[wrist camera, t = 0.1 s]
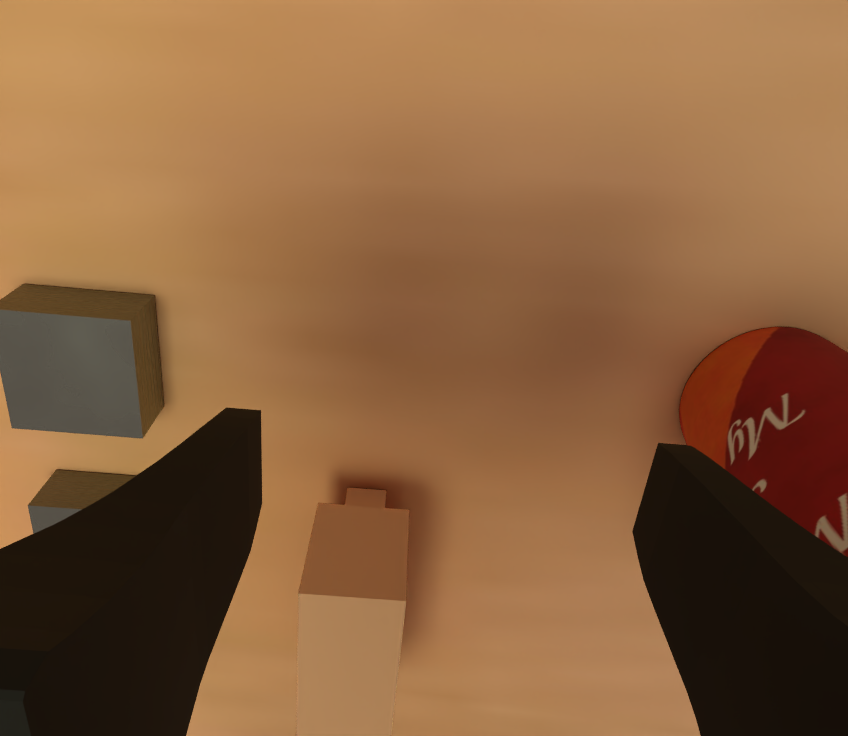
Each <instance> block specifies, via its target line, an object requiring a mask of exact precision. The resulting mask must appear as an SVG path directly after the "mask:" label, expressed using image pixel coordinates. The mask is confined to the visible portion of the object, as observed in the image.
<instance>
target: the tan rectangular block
mask: <svg viewBox="0 0 848 736" xmlns="http://www.w3.org/2000/svg"><path fill="white" fill-rule="evenodd" d="M386 491H387V490H374V489H361V488H347V494H346V500H345V505H339V504H326V503H318V506H317V510H316V515H315V520H314V524H313V529H312V533H311V538H310V543H309V547H308V552H307V556H306V561H305V565H304V570H303V575H302V579H301V584H300V588H299V593H298V649H297V712H296V736H391V734H392V725H393V716H394V707H395V698H396V689H397V680H398V671H399V662H400V653H401V644H402V635H403V626H404V617H405V608H406V595H407V565H408V535H409V510H404V509H391V508H385V503H386Z"/></svg>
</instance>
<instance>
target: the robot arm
mask: <svg viewBox="0 0 848 736" xmlns="http://www.w3.org/2000/svg"><path fill="white" fill-rule="evenodd" d="M261 505H262V460H261V410H249V409H236V408H226V409H224V410H223V411H222V412H220V413H219V414H218V415H216V416H215V417H214V418H213V419H211V420H210V421H209V422H207V423H206V424H205V425H204V426H202V427H201V428H200V429H199V430H197V431H196V432H195V433H194V434H192V435H191V436H190V437H189V438H187V439H186V440H185V441H184V442H182V443H181V444H180V445H178V446H177V447H176V448H174V449H173V450H172V451H170V452H169V453H168V454H166V455H165V456H164V457H163V458H161V459H160V460H159V461H157V462H156V463H154V464H153V465H151V466H150V467H149V468H147V469H146V470H144V471H143V472H141V473H140V474H138V475H137V476H135V477H134V478H132V479H131V480H129V481H128V482H126V483H125V484H123V485H122V486H120V487H119V488H118V489H116V490H114V491H113V492H111V493H110V494H108V495H106V496H105V497H103V498H101V499H100V500H98V501H96V502H94V503H93V504H91V505H89V506H87V507H86V508H84V509H82V510H80V511H78V512H76V513H75V514H73V515H71V516H69V517H67V518H65V519H64V520H62V521H60V522H58V523H56V524H54V525H52V526H49V527H47V528H45V529H43V530H41V531H39V532H36V533H34V534H32V535H30V536H28V537H25V538H23V539H21V540H19V541H17V542H15V543H12V544H10V545H8V546H6V547H4V548H1V549H0V736H186V733H187V730H188V726H189V723H190V719H191V715H192V712H193V708H194V704H195V701H196V697H197V693H198V690H199V686H200V683H201V680H202V677H203V674H204V671H205V668H206V665H207V662H208V659H209V657H210V654H211V652H212V649H213V646H214V644H215V641H216V639H217V636H218V634H219V631H220V629H221V626H222V623H223V621H224V618H225V616H226V613H227V611H228V608H229V606H230V603H231V600H232V598H233V595H234V593H235V590H236V588H237V585H238V582H239V580H240V577H241V575H242V572H243V569H244V567H245V564H246V562H247V559H248V556H249V553H250V551H251V547H252V543H253V539H254V535H255V531H256V527H257V522H258V518H259V514H260V510H261ZM633 536H634V541H635V545H636V550H637V555H638V559H639V563H640V567H641V571H642V575H643V579H644V582H645V585H646V588H647V591H648V593H649V596H650V598H651V601H652V604H653V606H654V609H655V612H656V614H657V617H658V619H659V622H660V624H661V627H662V629H663V632H664V635H665V637H666V640H667V642H668V645H669V647H670V650H671V652H672V655H673V657H674V660H675V662H676V665H677V668H678V670H679V673H680V675H681V678H682V680H683V683H684V685H685V688H686V690H687V693H688V696H689V699H690V702H691V705H692V708H693V711H694V714H695V717H696V720H697V724H698V727H699V731H700V735H701V736H848V557H847V556H845V555H843V554H842V553H840V552H839V551H837V550H836V549H834V548H833V547H831V546H830V545H828V544H827V543H825V542H824V541H822V540H821V539H819V538H818V537H816V536H815V535H813V534H812V533H810V532H809V531H807V530H806V529H805V528H803V527H802V526H800V525H799V524H797V523H796V522H795V521H793V520H792V519H791V518H789V517H788V516H786V515H785V514H784V513H782V512H781V511H780V510H778V509H777V508H775V507H774V506H773V505H771V504H770V503H769V502H767V501H766V500H765V499H763V498H762V497H761V496H759V495H758V494H757V493H755V492H754V491H753V490H752V489H750V488H749V487H748V486H746V485H745V484H744V483H742V482H741V481H740V480H738V479H737V478H736V477H735V476H733V475H732V474H731V473H729V472H728V471H727V470H725V469H724V468H723V467H721V466H720V465H719V464H717V463H716V462H715V461H713V460H712V459H711V458H709V457H708V456H706V455H705V454H703V453H702V452H700V451H699V450H697V449H696V448H694V447H693V446H689V445H676V444H664V443H658V446H657V449H656V453H655V456H654V459H653V463H652V466H651V470H650V473H649V477H648V480H647V483H646V487H645V490H644V494H643V497H642V501H641V504H640V507H639V511H638V514H637V518H636V521H635V524H634V528H633Z"/></svg>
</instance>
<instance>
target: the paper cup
mask: <svg viewBox="0 0 848 736" xmlns="http://www.w3.org/2000/svg"><path fill="white" fill-rule="evenodd" d="M679 418H680V425H681V429H682V433H683V436H684V438H685V441H686V444H687V445H689V446H693V447H694V448H696V449H697V450H699V451H700V452H702V453H703V454H705V455H706V456H708V457H709V458H711V459H712V460H713V461H715V462H716V463H717V464H719V465H720V466H721V467H723V468H724V469H725V470H727V471H728V472H729V473H731V474H732V475H733V476H735V477H736V478H737V479H738V480H740V481H741V482H742V483H744V484H745V485H746V486H748V487H749V488H750V489H752V490H753V491H754V492H755V493H757V494H758V495H759V496H761V497H762V498H763V499H765V500H766V501H767V502H769V503H770V504H771V505H773V506H774V507H775V508H777V509H778V510H780V511H781V512H782V513H784V514H785V515H786V516H788V517H789V518H791V519H792V520H793V521H795V522H796V523H797V524H799V525H800V526H802V527H803V528H805V529H806V530H807V531H809V532H810V533H812V534H813V535H815V536H816V537H818V538H819V539H821V540H822V541H824V542H825V543H827V544H828V545H830V546H831V547H833V548H834V549H836V550H837V551H839V552H840V553H842V554H843V555H845V556H847V557H848V353H847V352H846V351H844V350H843V349H841V348H839V347H838V346H836V345H835V344H833V343H831V342H829V341H828V340H826V339H824V338H822V337H820V336H818V335H816V334H814V333H811V332H809V331H806V330H802V329H798V328H792V327H769V328H763V329H758V330H754V331H750V332H747V333H744V334H742V335H739V336H737V337H735V338H733V339H731V340H729V341H727V342H725V343H724V344H722V345H721V346H719V347H718V348H716V349H715V350H714V351H713V352H711V353H710V354H709V355H708V356H707V357H706V358H705V359H704V360H703V361H702V362H701V363H700V364H699V365H698V366H697V368H696V369H695V370H694V372H693V373H692V374H691V376H690V378H689V379H688V381H687V383H686V385H685V388H684V390H683V393H682V396H681V400H680V407H679Z"/></svg>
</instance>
